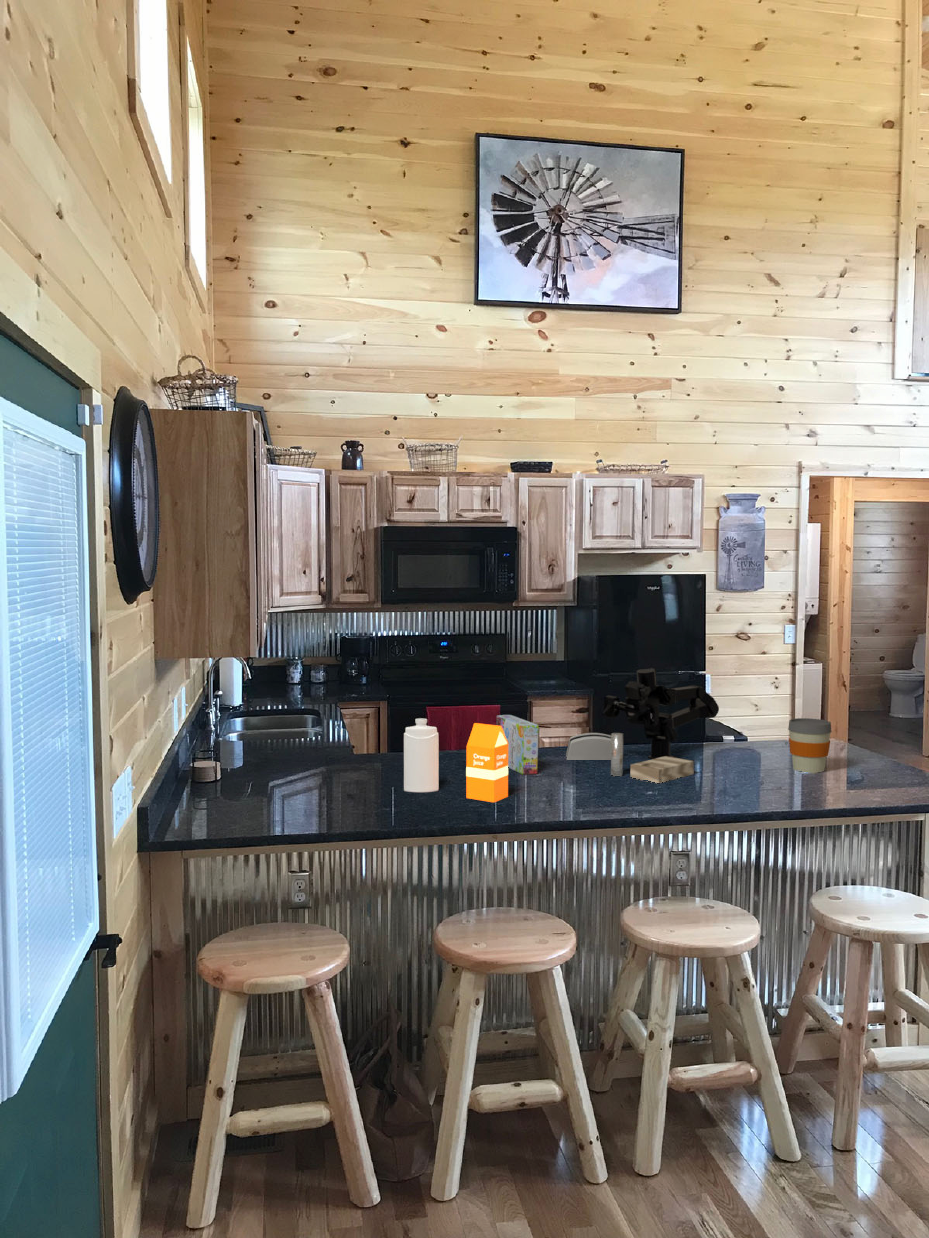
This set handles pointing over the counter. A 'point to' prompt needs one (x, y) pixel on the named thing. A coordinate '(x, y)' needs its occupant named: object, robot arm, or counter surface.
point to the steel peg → (617, 754)
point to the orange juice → (487, 763)
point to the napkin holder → (589, 747)
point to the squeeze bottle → (421, 757)
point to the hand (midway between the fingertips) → (615, 717)
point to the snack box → (520, 743)
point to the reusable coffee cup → (809, 743)
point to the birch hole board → (662, 769)
